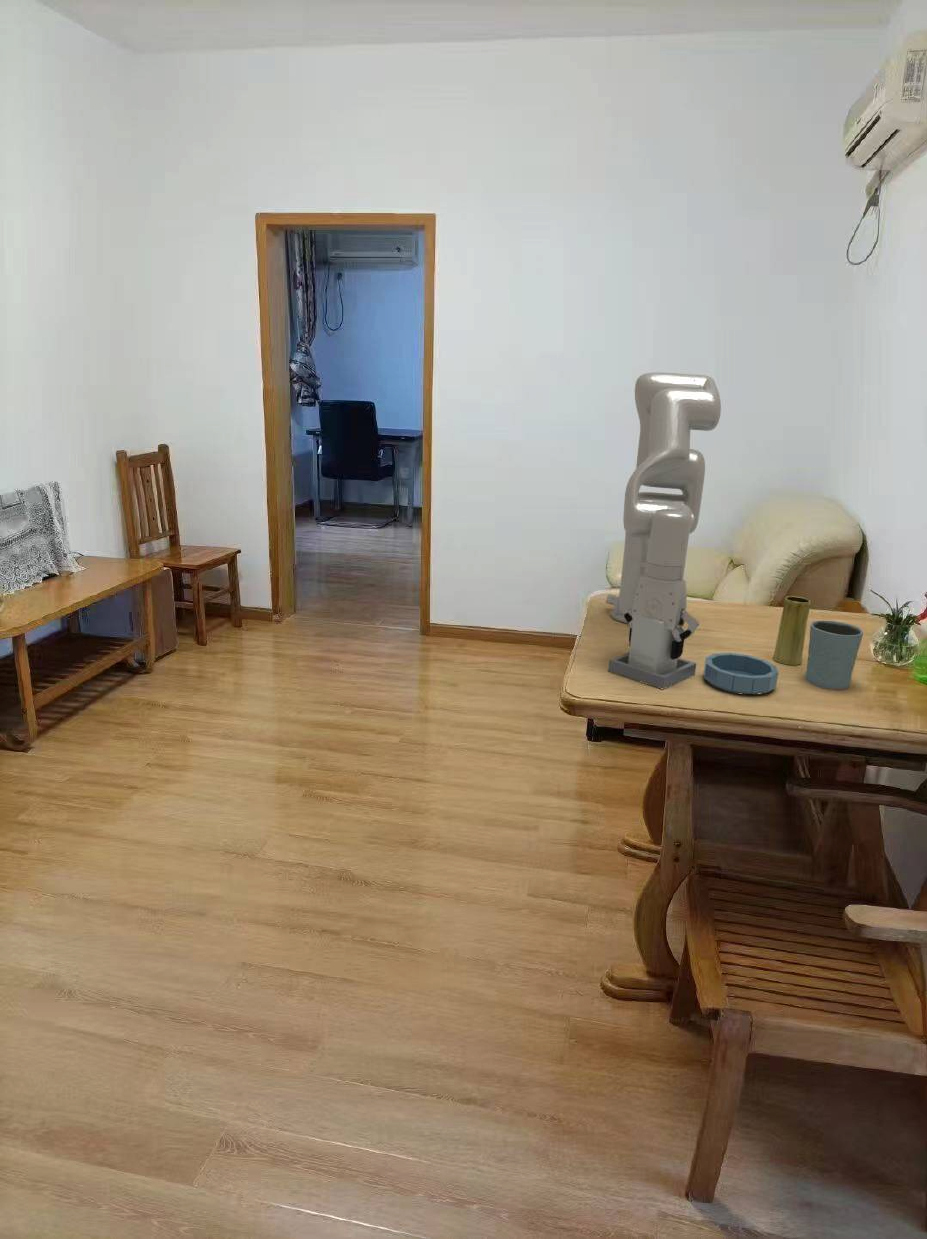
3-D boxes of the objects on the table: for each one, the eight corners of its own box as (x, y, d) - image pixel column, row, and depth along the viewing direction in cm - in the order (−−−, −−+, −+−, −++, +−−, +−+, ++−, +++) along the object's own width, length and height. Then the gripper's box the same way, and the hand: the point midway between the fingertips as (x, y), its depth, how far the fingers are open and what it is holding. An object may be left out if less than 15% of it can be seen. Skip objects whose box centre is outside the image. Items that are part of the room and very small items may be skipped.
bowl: (690, 681, 175) (693, 663, 174) (722, 665, 185) (725, 648, 184) (756, 702, 166) (759, 683, 165) (785, 684, 176) (788, 666, 175)
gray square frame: (608, 671, 178) (609, 659, 177) (641, 657, 187) (642, 646, 186) (663, 689, 170) (664, 677, 169) (694, 674, 179) (696, 663, 178)
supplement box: (676, 675, 178) (684, 617, 174) (652, 682, 173) (660, 622, 170) (649, 664, 183) (656, 608, 180) (625, 670, 179) (632, 612, 175)
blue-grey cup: (832, 694, 172) (843, 637, 169) (790, 677, 181) (800, 623, 177) (862, 686, 178) (874, 631, 174) (820, 669, 186) (830, 617, 182)
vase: (803, 667, 187) (815, 604, 183) (774, 663, 188) (785, 601, 184) (798, 657, 193) (810, 597, 188) (770, 654, 194) (781, 594, 189)
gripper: (617, 565, 175) (609, 644, 180) (694, 583, 164) (683, 667, 169) (637, 560, 180) (628, 637, 185) (713, 577, 169) (701, 659, 174)
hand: (654, 651), depth 177 cm, fingers open, 9 cm apart
